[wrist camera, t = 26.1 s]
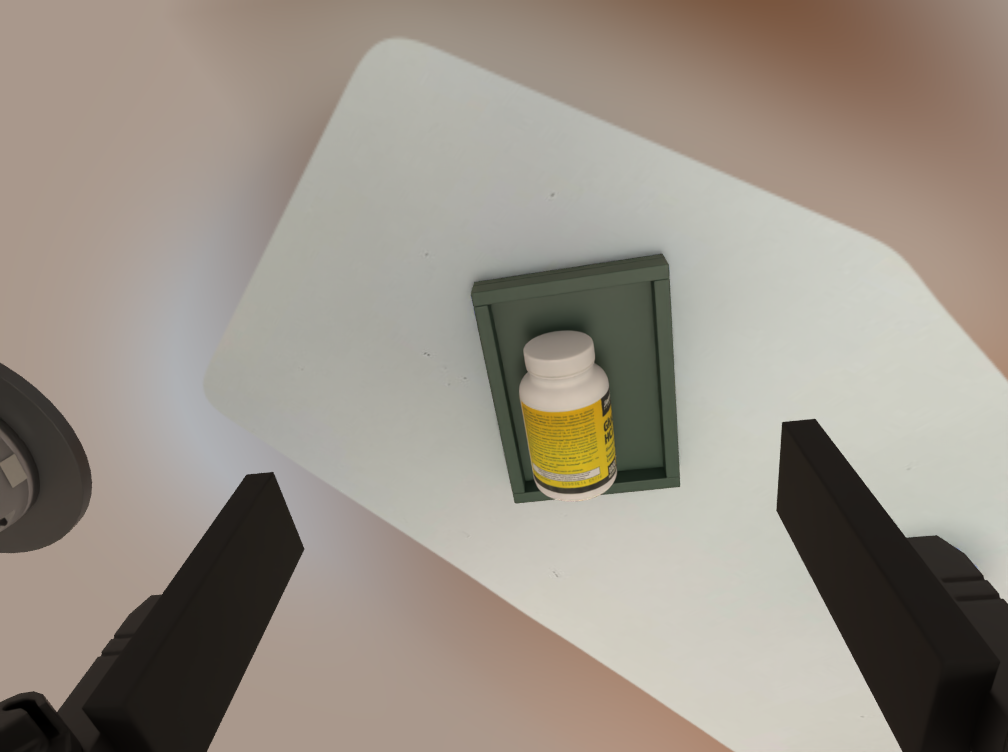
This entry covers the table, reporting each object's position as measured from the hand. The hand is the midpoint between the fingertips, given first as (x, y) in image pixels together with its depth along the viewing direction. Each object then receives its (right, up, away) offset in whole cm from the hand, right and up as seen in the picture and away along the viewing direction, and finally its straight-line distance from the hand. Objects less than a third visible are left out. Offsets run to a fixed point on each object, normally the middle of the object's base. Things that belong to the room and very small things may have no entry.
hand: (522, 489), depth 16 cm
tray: (+5, +2, +30) cm, 30 cm away
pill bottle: (+5, -5, +29) cm, 30 cm away
